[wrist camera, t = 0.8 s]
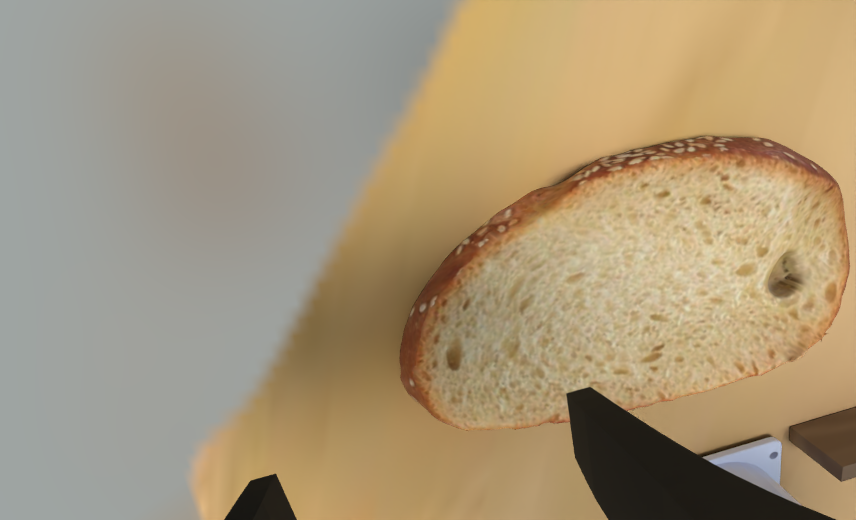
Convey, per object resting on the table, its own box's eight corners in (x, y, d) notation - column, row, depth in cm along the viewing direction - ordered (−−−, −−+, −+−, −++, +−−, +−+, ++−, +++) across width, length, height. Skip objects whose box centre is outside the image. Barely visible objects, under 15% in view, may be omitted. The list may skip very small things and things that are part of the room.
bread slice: (369, 384, 21) (370, 439, 18) (566, 9, 17) (618, -15, 14) (653, 483, 26) (698, 542, 22) (865, 207, 22) (961, 227, 18)
